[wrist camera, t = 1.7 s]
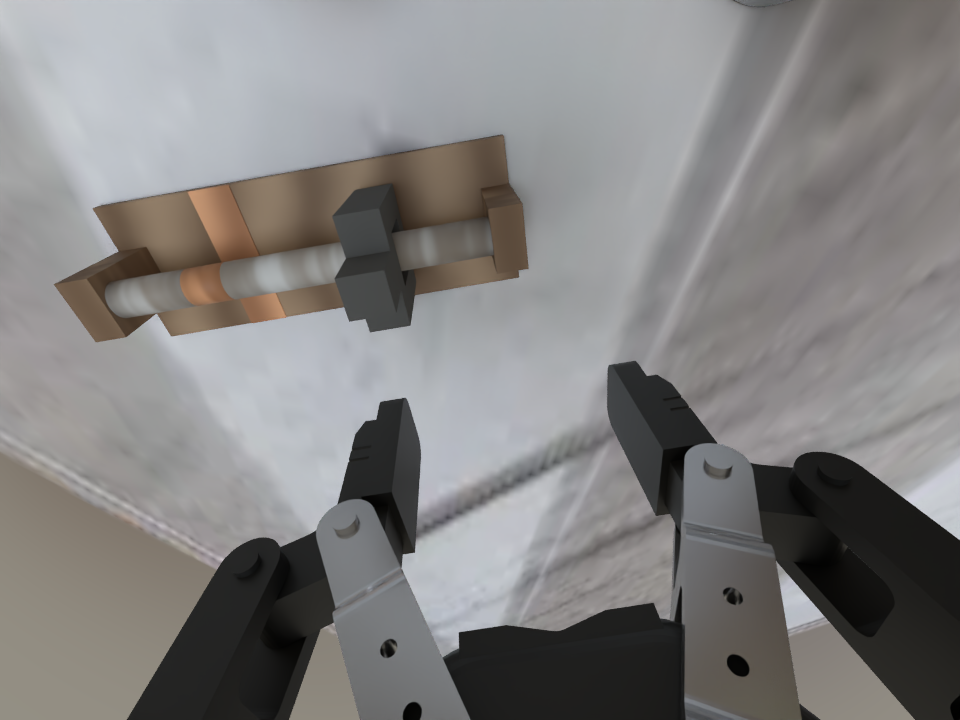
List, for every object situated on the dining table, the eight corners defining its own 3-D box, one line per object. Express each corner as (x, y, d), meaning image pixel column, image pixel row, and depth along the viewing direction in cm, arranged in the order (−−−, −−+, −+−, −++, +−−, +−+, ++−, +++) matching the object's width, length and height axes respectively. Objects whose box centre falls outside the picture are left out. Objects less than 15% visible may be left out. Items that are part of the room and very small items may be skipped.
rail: (502, 134, 29) (516, 146, 24) (517, 273, 35) (532, 311, 29) (100, 205, 30) (17, 234, 24) (176, 331, 35) (123, 380, 29)
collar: (392, 183, 29) (370, 223, 20) (416, 281, 32) (406, 350, 24) (355, 189, 29) (318, 232, 20) (383, 287, 32) (362, 358, 24)
